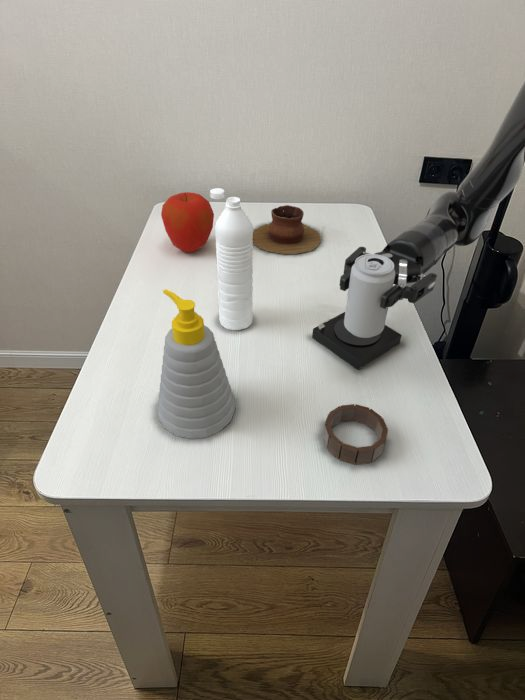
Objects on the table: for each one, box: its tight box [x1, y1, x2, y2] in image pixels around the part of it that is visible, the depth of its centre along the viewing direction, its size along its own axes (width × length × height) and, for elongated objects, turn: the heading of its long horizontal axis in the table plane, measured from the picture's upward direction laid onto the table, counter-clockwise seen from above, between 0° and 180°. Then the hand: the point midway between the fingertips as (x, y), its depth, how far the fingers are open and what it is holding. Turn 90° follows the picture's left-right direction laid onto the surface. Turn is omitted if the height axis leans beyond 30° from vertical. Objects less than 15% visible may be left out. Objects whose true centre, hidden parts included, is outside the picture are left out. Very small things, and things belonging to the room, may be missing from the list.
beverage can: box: [344, 253, 395, 338], centre depth 75 cm, size 6×6×12 cm
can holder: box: [322, 403, 389, 465], centre depth 73 cm, size 9×9×3 cm
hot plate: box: [311, 311, 403, 370], centre depth 91 cm, size 12×12×3 cm
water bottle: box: [209, 187, 254, 331], centre depth 89 cm, size 9×6×25 cm
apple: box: [160, 191, 215, 254], centre depth 114 cm, size 12×12×14 cm
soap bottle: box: [157, 288, 237, 440], centre depth 72 cm, size 12×12×20 cm
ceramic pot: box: [252, 204, 322, 255], centre depth 121 cm, size 18×18×7 cm
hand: (362, 293), depth 72 cm, fingers closed on beverage can, 6 cm apart
